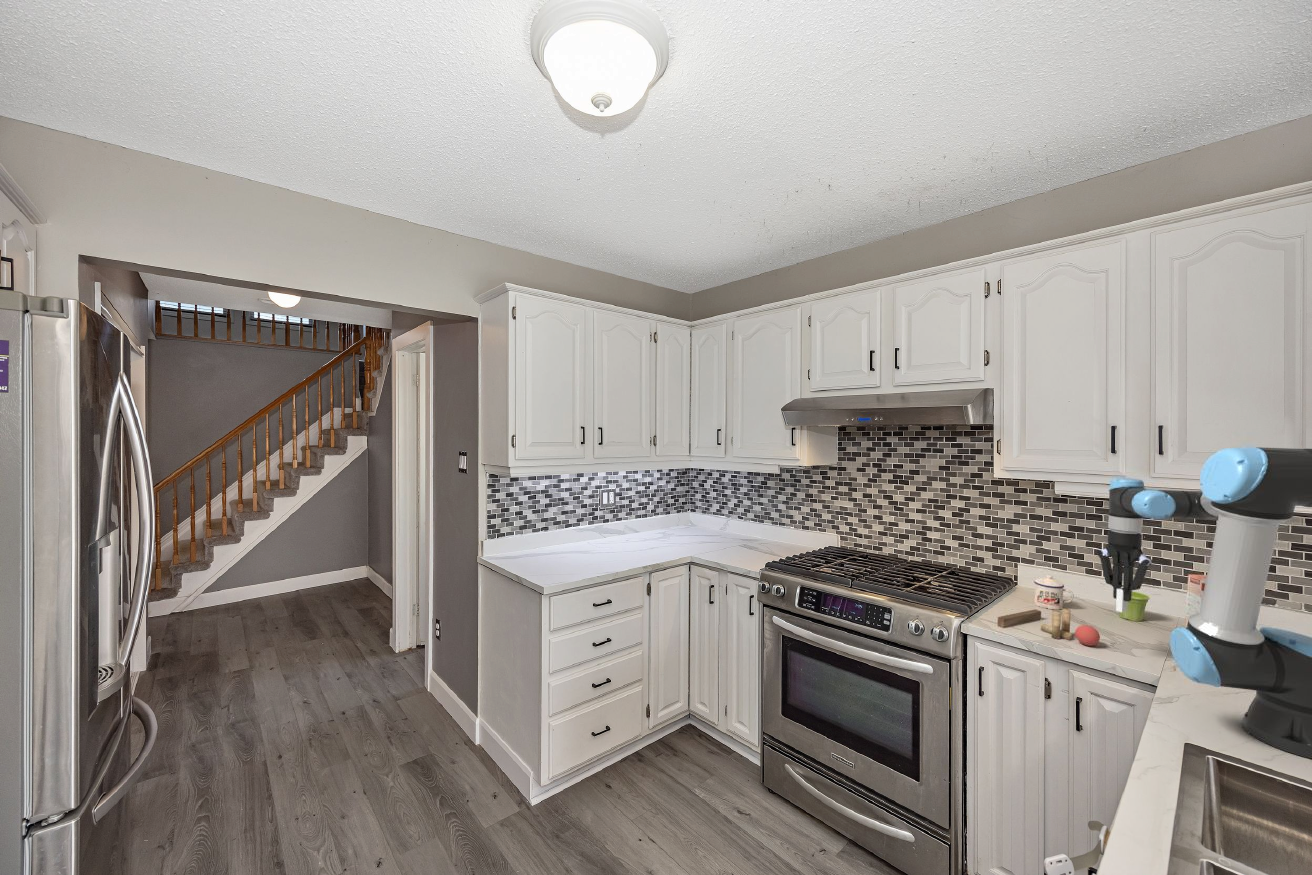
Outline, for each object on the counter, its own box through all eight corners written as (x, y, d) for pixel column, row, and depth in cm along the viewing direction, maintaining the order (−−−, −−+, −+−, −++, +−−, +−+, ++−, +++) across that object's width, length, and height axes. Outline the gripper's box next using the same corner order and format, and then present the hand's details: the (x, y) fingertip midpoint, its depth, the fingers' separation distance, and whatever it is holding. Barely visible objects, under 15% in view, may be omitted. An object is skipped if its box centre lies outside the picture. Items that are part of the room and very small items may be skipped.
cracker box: (1199, 645, 168) (1202, 578, 167) (1183, 637, 174) (1186, 573, 173) (1250, 648, 166) (1254, 581, 165) (1232, 640, 172) (1235, 575, 171)
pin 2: (1071, 637, 173) (1072, 610, 173) (1064, 636, 173) (1065, 610, 173) (1066, 634, 175) (1067, 608, 175) (1059, 634, 175) (1060, 608, 175)
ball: (1072, 629, 172) (1082, 648, 169) (1070, 626, 168) (1080, 646, 165) (1094, 624, 169) (1104, 644, 166) (1092, 621, 165) (1103, 641, 162)
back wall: (1040, 619, 188) (1041, 611, 188) (1003, 627, 180) (1003, 619, 180) (1034, 617, 190) (1035, 609, 190) (997, 625, 182) (997, 616, 182)
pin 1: (1061, 639, 171) (1062, 613, 171) (1054, 639, 171) (1055, 612, 171) (1056, 636, 173) (1057, 610, 173) (1049, 636, 173) (1050, 610, 173)
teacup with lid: (1033, 606, 201) (1034, 576, 201) (1033, 600, 209) (1034, 570, 208) (1074, 613, 194) (1075, 581, 194) (1072, 606, 202) (1073, 575, 202)
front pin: (1072, 632, 171) (1044, 622, 179) (1068, 634, 170) (1040, 625, 178) (1073, 638, 171) (1045, 628, 179) (1069, 641, 170) (1041, 631, 178)
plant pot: (1155, 624, 185) (1156, 599, 185) (1124, 622, 187) (1125, 597, 187) (1137, 614, 194) (1138, 591, 194) (1107, 612, 196) (1108, 589, 196)
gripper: (1159, 534, 153) (1156, 616, 154) (1106, 526, 165) (1103, 602, 166) (1145, 536, 150) (1141, 620, 151) (1091, 527, 162) (1088, 605, 163)
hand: (1121, 610), depth 158 cm, fingers closed
